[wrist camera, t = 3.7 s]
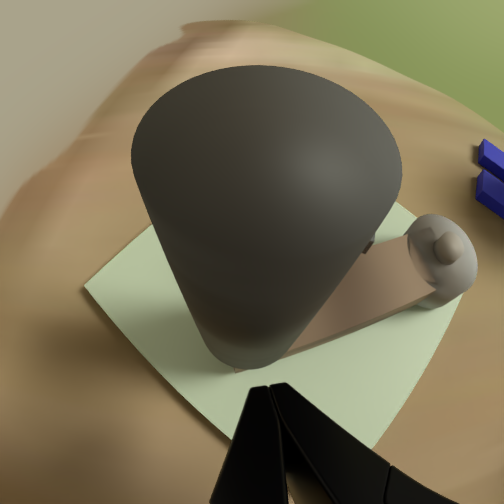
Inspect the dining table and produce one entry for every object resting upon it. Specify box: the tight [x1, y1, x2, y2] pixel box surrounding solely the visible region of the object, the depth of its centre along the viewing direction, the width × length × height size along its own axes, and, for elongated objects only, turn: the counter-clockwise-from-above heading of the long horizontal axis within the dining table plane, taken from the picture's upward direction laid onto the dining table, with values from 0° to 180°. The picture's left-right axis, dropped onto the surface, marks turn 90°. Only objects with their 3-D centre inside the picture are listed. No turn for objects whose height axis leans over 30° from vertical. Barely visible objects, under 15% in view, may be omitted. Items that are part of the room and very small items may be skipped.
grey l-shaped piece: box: [131, 65, 478, 374], centre depth 10 cm, size 14×4×11 cm, turn 108°
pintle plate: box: [84, 201, 463, 449], centre depth 16 cm, size 16×15×1 cm
